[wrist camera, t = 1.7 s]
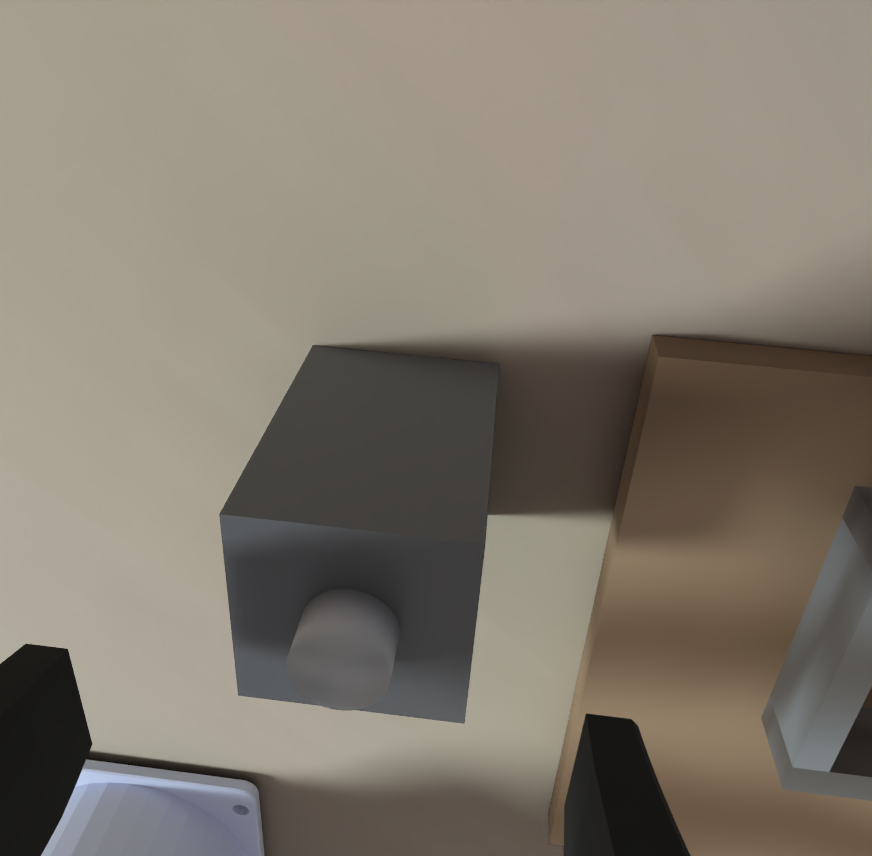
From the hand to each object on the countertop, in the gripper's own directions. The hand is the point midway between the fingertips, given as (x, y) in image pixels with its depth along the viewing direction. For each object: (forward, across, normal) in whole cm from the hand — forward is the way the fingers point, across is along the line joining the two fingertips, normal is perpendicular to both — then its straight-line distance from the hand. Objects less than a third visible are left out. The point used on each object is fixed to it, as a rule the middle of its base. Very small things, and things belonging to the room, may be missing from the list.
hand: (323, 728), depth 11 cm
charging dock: (+8, -12, +5) cm, 15 cm away
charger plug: (+8, 0, 0) cm, 8 cm away
